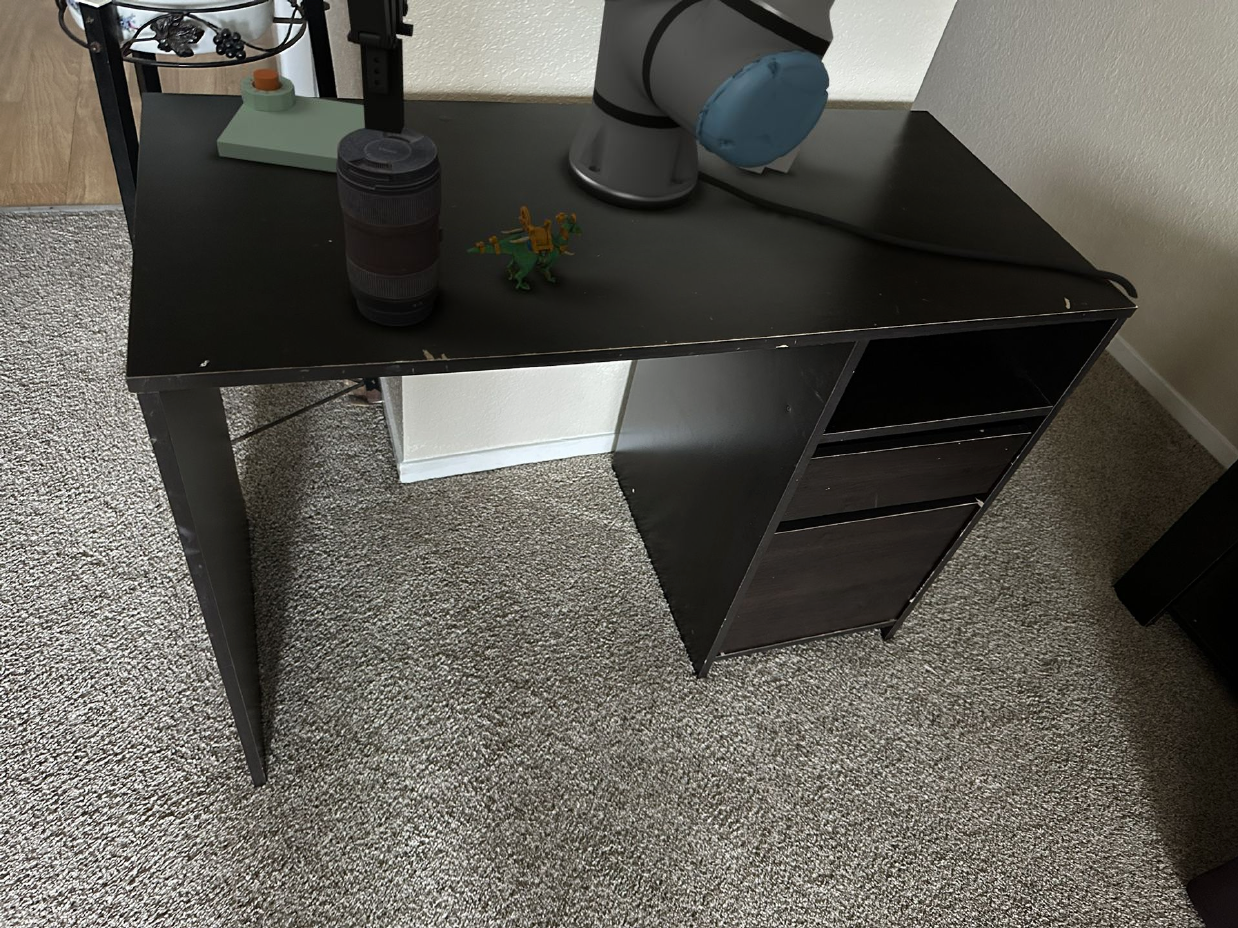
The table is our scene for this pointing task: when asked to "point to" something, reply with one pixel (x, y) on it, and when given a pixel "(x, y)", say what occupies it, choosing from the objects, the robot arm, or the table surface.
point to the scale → (288, 127)
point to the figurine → (532, 245)
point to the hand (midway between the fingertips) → (384, 126)
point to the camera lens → (391, 222)
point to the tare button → (266, 80)
